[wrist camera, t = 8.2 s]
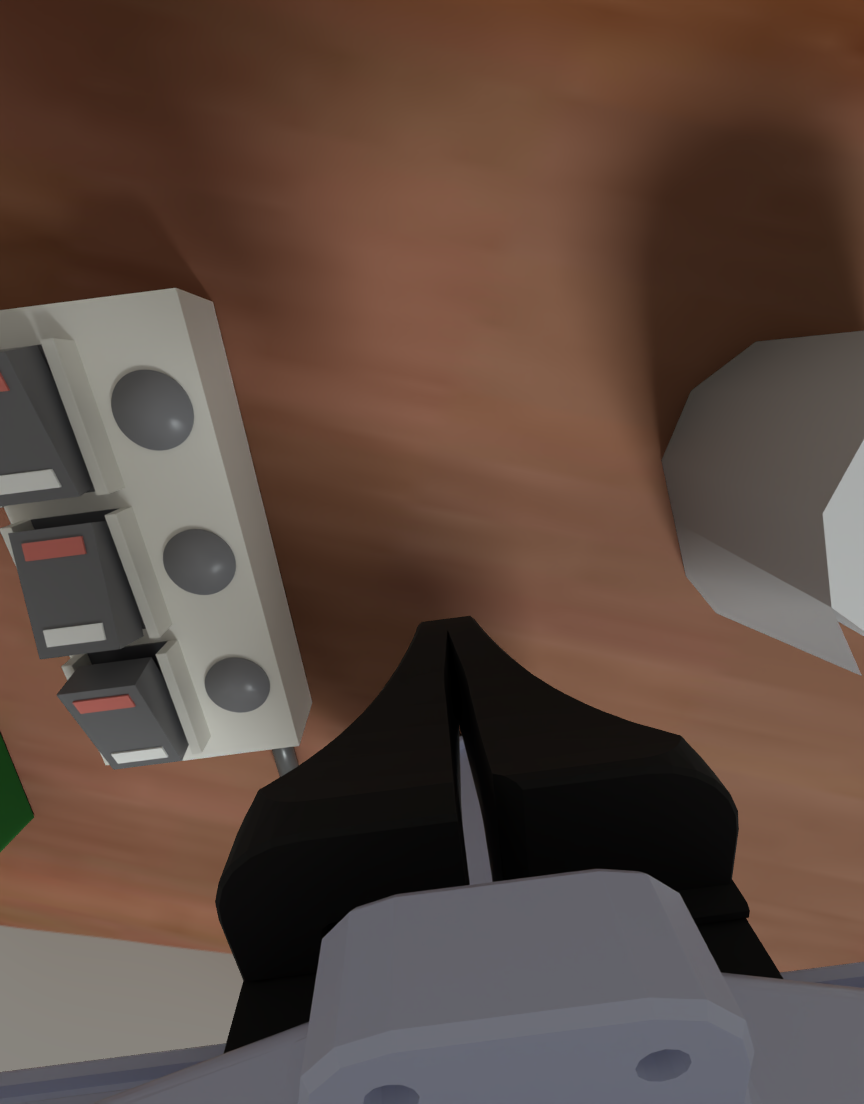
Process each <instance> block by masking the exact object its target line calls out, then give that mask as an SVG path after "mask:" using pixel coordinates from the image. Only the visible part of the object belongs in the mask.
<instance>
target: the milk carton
mask: <svg viewBox="0 0 864 1104" xmlns="http://www.w3.org/2000/svg"><path fill="white" fill-rule="evenodd" d="M33 818H34V815H33V813H32V810H31V808H30V805H29V803H28V800H27V798H26V795H25V793H24V790H23V788H22V785H21V783H20V780H19V778H18V775H17V773H16V771H15V768H14V766H13V763H12V761H11V758H10V756H9V753H8V751H7V748H6V746H5V743H4V741H3V738H2V736H1V734H0V852H1V851H2V850H3V849H4V848H5V847H6V846H7V845H8V844H9V843H10V842H11V841H12V840H13V838H14V837H15V836H16V835H17V834H18V833H19V832H20V831H21V830H22V829H23V828H24V827H25V826H26V825H27V824H28V823H29V822H30V821H31V820H32V819H33Z"/></svg>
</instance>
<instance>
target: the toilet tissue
mask: <svg viewBox="0 0 864 1104" xmlns="http://www.w3.org/2000/svg"><path fill="white" fill-rule="evenodd" d="M661 461H662V465H663V470H664V475H665V479H666V484H667V489H668V494H669V498H670V503H671V508H672V513H673V517H674V522H675V527H676V532H677V536H678V541H679V546H680V550H681V555H682V560H683V565H684V569H685V574H686V577H687V578H688V579H689V580H690V581H691V583H692V584H693V585H694V586H695V588H696V589H697V590H698V591H699V593H700V594H701V595H702V596H703V598H704V599H705V600H706V601H707V602H708V604H709V605H710V606H711V607H712V609H713V610H714V611H715V612H716V613H717V614H720V615H722V616H724V617H727V618H729V619H731V620H733V621H736V622H738V623H740V624H743V625H745V626H747V627H750V628H752V629H754V630H757V631H759V632H761V633H764V634H766V635H768V636H771V637H773V638H775V639H777V640H780V641H782V642H784V643H787V644H789V645H791V646H794V647H796V648H798V649H801V650H803V651H805V652H808V653H810V654H812V655H815V656H817V657H819V658H821V659H824V660H826V661H828V662H831V663H833V664H835V665H838V666H840V667H842V668H845V669H847V670H849V671H852V672H854V673H856V674H859V675H861V673H860V671H859V669H858V666H857V664H856V662H855V659H854V657H853V655H852V653H851V650H850V648H849V646H848V644H847V641H846V639H845V637H844V635H843V632H842V630H841V628H840V625H839V623H838V622H840V623H842V624H843V625H845V626H847V627H849V628H850V629H852V630H854V631H856V632H857V633H859V634H861V635H863V636H864V331H855V332H845V333H835V334H826V335H816V336H806V337H796V338H787V339H777V340H767V341H757V342H755V343H753V344H752V345H751V346H749V347H748V348H747V349H745V350H744V351H743V352H741V353H740V354H739V355H737V356H736V357H735V358H733V359H732V360H731V361H730V362H728V363H727V364H726V365H724V366H723V367H722V368H720V369H719V370H718V371H716V372H715V373H714V374H712V375H711V376H710V377H708V378H707V379H706V380H704V381H703V382H702V383H700V384H699V385H698V386H697V387H695V388H694V389H693V390H691V392H690V394H689V397H688V399H687V401H686V404H685V406H684V408H683V411H682V413H681V416H680V418H679V420H678V423H677V425H676V427H675V430H674V432H673V434H672V437H671V439H670V442H669V444H668V446H667V449H666V451H665V453H664V456H663V458H662V460H661ZM861 676H862V675H861Z"/></svg>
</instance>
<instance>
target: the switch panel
mask: <svg viewBox="0 0 864 1104" xmlns="http://www.w3.org/2000/svg"><path fill="white" fill-rule="evenodd" d="M32 345H37V346H38V348H39V350H40V352H41V354H42V356H43V358H44V360H45V363H46V365H47V367H48V369H49V371H50V373H51V375H52V377H53V379H54V381H55V383H56V386H57V388H58V391H59V394H60V396H61V399H62V402H63V405H64V407H65V410H66V413H67V415H68V418H69V421H70V424H71V426H72V429H73V432H74V434H75V437H76V440H77V443H78V445H79V448H80V451H81V453H82V456H83V459H84V462H85V464H86V467H87V470H88V472H89V475H90V478H91V481H92V483H93V486H94V487H93V488H91V489H90V490H88V491H87V492H86V493H84V494H83V495H81V496H79V497H71V498H63V499H55V500H47V501H40V502H32V503H24V504H16V505H8V506H1V507H0V508H2V507H4V509H5V511H6V513H7V516H8V518H9V520H10V522H11V525H8V526H5V527H3V528H0V532H1V534H2V536H3V539H4V541H5V543H6V545H7V547H8V550H9V552H10V554H11V556H12V559H13V561H14V563H15V559H14V555H13V551H12V547H11V543H10V539H9V535H8V533H14V532H22V531H30V530H37V529H45V528H53V527H61V526H69V525H77V524H84V523H92V522H101V521H107V524H108V527H109V529H110V532H111V535H112V538H113V540H114V543H115V546H116V548H117V551H118V554H119V557H120V559H121V562H122V565H123V567H124V570H125V573H126V576H127V578H128V581H129V584H130V586H131V589H132V592H133V595H134V597H135V600H136V603H137V608H138V612H139V617H140V621H141V626H142V630H143V635H144V636H143V637H142V638H140V639H138V640H136V641H134V642H132V643H131V644H129V645H127V646H125V647H123V648H121V649H117V650H109V651H101V652H93V653H85V654H78V655H70V660H68V661H67V662H66V663H65V664H64V665H62V666H61V667H62V669H63V672H64V674H65V676H66V678H67V680H68V679H69V678H70V677H71V676H72V674H73V673H74V672H75V670H76V669H77V668H78V666H86V665H93V664H101V663H109V662H117V661H125V660H133V659H140V658H148V657H152V659H153V660H154V662H155V664H156V666H157V667H158V669H159V671H160V673H161V674H162V676H163V678H164V680H165V681H166V684H167V687H168V690H169V692H170V695H171V698H172V700H173V703H174V706H175V709H176V711H177V714H178V717H179V719H180V722H181V725H182V728H183V730H184V733H185V736H186V739H187V741H188V744H189V746H188V748H187V750H186V753H185V755H184V758H183V760H182V761H184V760H192V759H200V758H207V757H215V756H223V755H231V754H239V753H246V752H254V751H262V750H270V749H272V752H273V755H274V759H275V762H276V766H277V769H278V772H279V776H280V777H281V776H283V775H285V774H286V773H288V772H290V771H291V770H293V769H294V768H296V767H298V766H299V765H298V762H297V758H296V754H295V751H294V747H293V746H299V745H300V742H301V738H302V735H303V732H304V728H305V725H306V722H307V718H308V715H309V712H310V708H311V705H312V699H311V695H310V691H309V687H308V683H307V679H306V675H305V671H304V667H303V663H302V659H301V655H300V651H299V647H298V643H297V639H296V635H295V631H294V627H293V623H292V619H291V615H290V611H289V607H288V603H287V599H286V595H285V591H284V587H283V583H282V579H281V574H280V570H279V566H278V562H277V558H276V554H275V550H274V546H273V542H272V538H271V534H270V530H269V526H268V522H267V518H266V514H265V510H264V506H263V502H262V498H261V494H260V490H259V486H258V482H257V478H256V474H255V470H254V466H253V462H252V458H251V454H250V449H249V445H248V441H247V437H246V433H245V429H244V425H243V421H242V417H241V413H240V409H239V405H238V401H237V397H236V393H235V389H234V385H233V381H232V377H231V373H230V369H229V365H228V361H227V357H226V353H225V349H224V345H223V341H222V337H221V333H220V329H219V324H218V320H217V316H216V312H215V308H214V304H213V302H212V301H209V300H207V299H204V298H202V297H199V296H196V295H194V294H191V293H188V292H186V291H183V290H181V289H178V288H170V289H162V290H154V291H147V292H139V293H131V294H123V295H115V296H108V297H100V298H92V299H84V300H76V301H68V302H61V303H53V304H45V305H37V306H29V307H21V308H14V309H6V310H0V350H1V349H9V348H17V347H24V346H32ZM15 565H16V563H15ZM100 754H101V753H100ZM101 756H102V758H103V760H104V762H105V765H110V764H109V763H108V762H107V760H106V759H105V758H104V757H103V755H102V754H101ZM152 765H153V764H152Z"/></svg>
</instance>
